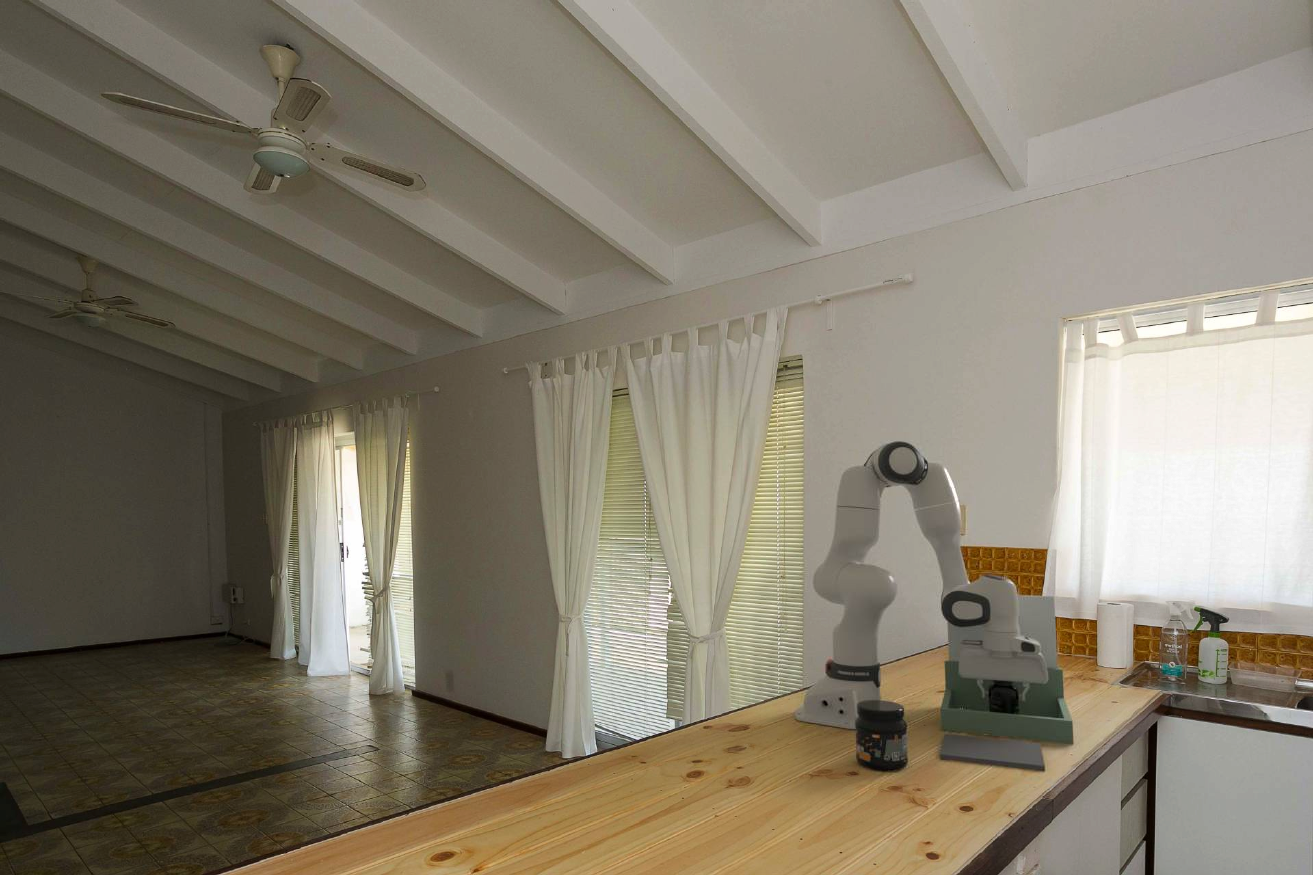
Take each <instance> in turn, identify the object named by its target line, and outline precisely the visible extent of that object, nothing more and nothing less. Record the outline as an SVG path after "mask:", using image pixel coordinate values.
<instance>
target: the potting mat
mask: <svg viewBox="0 0 1313 875" xmlns="http://www.w3.org/2000/svg"><path fill="white" fill-rule="evenodd" d="M1043 754H1044V753H1043V749H1042V746H1041V743H1039V742H1031V741H1020V740H1009V739H999V738H991V737H989V738H988V737H981V736H971V735H969V736H968V735H961V734H952V733H943V737H942V744H941V748H940V752H939V759H940V760H945V761H954V762H964V763H970V764H971V763H973V764H981V765H988V766H989V765H990V766H998V767H1007V768H1015V769H1023V770H1025V769H1026V770H1033V771H1041V772H1042V771H1043V772H1046V766H1045V760H1044V756H1043Z"/></svg>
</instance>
